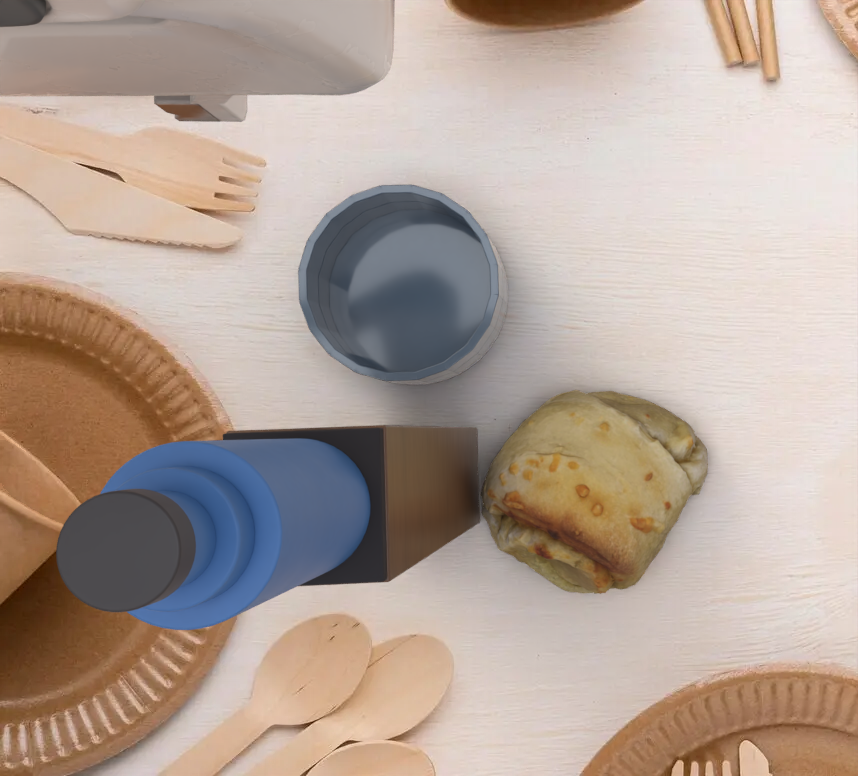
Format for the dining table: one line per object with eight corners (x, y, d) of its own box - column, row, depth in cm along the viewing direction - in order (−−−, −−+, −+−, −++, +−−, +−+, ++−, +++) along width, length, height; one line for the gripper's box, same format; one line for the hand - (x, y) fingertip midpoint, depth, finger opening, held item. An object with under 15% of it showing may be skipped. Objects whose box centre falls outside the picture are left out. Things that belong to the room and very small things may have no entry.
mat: (231, 587, 40) (225, 589, 39) (227, 433, 40) (221, 433, 39) (387, 579, 40) (384, 582, 40) (383, 427, 40) (379, 427, 40)
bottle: (230, 580, 39) (5, 667, 25) (227, 440, 39) (2, 446, 25) (372, 574, 40) (232, 656, 25) (369, 435, 40) (227, 438, 25)
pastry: (485, 592, 66) (466, 615, 58) (481, 393, 66) (462, 388, 58) (709, 584, 67) (721, 605, 59) (704, 388, 67) (715, 382, 59)
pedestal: (382, 527, 66) (228, 589, 40) (380, 431, 66) (225, 430, 40) (480, 523, 66) (390, 582, 40) (477, 427, 66) (385, 425, 40)
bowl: (327, 388, 66) (300, 384, 60) (322, 206, 66) (295, 186, 61) (511, 381, 67) (501, 377, 61) (505, 202, 67) (495, 182, 62)
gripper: (-1892, -39, 10) (-460, 230, 24) (242, -34, 12) (444, 217, 26) (-1849, -655, 11) (-456, -41, 24) (236, -577, 12) (439, -39, 26)
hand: (12, 91), depth 25 cm, fingers open, 8 cm apart
